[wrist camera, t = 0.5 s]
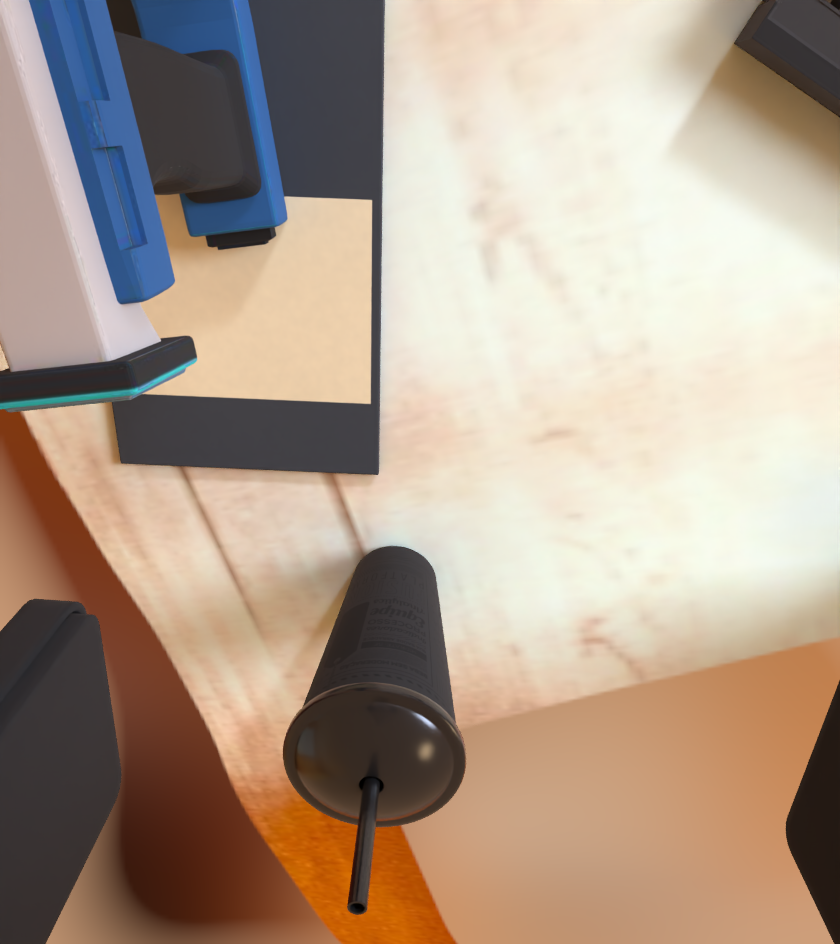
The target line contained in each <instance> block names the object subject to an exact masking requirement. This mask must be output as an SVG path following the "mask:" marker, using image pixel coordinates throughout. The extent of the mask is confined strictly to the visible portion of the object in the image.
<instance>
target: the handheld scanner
mask: <svg viewBox="0 0 840 944" xmlns="http://www.w3.org/2000/svg"><path fill="white" fill-rule="evenodd" d="M131 3H132V6H133V9H134V12H135V15H136V19H137V22H138V26H139V29H140V33H141V37H142V39H141V38H138V37H134V36H131V35H127V34H124V33H120V32H116V31H113V27H112V23H111V19H110V15H109V12H108V8H107V4H106V0H0V344H1V347H2V350H3V352H4V355H5V358H6V360H7V363H8V366H9V369H6V370H3V371H0V409H5V410H6V411H7V412H18V411H27V410H37V409H46V408H56V407H66V406H75V405H85V404H95V403H104V402H114V401H123V400H131V399H133V398H135V397H137V396H139V395H141V394H143V393H145V392H147V391H149V390H151V389H153V388H155V387H157V386H159V385H161V384H163V383H165V382H167V381H169V380H171V379H173V378H175V377H177V376H179V375H181V374H183V373H184V372H185V370H186V368H187V367H189V366H191V365H192V364H194V363H196V361H197V354H196V349H195V345H194V341H193V338H192V337H190V336H177V337H168V338H159V336H158V334H157V332H156V331H155V329H154V327H153V326H152V324H151V322H150V321H149V319H148V317H147V315H146V314H145V312H144V310H143V309H142V307H141V304H140V302H144V301H147V300H149V299H151V298H153V297H155V296H157V295H159V294H160V293H162V292H164V291H165V290H167V289H169V288H170V287H171V286H173V284H174V283H175V277H174V273H173V269H172V264H171V260H170V255H169V251H168V247H167V242H166V238H165V234H164V230H163V226H162V222H161V218H160V214H159V210H158V206H157V202H156V198H155V195H172V194H179V196H180V200H181V204H182V208H183V212H184V216H185V221H186V225H187V229H188V232H189V235H190V236H191V237H200V236H205V237H206V241H207V245H208V247H217V248H218V250H224V249H232V248H240V247H248V246H257V245H265V244H267V243H269V241H270V240H271V239H273V238H274V237H275V236H276V231H275V227H277V226H280V225H281V224H283V223H285V222H286V221H287V219H288V217H287V210H286V204H285V199H284V193H283V188H282V182H281V177H280V171H279V166H278V160H277V154H276V149H275V143H274V138H273V132H272V127H271V121H270V116H269V110H268V104H267V99H266V93H265V88H264V82H263V77H262V71H261V66H260V60H259V55H258V49H257V43H256V38H255V32H254V27H253V22H252V17H251V12H250V8H249V3H248V0H131Z"/></svg>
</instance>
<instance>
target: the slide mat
mask: <svg viewBox="0 0 840 944" xmlns="http://www.w3.org/2000/svg"><path fill="white" fill-rule="evenodd" d="M248 3H249V8H250V12H251V17H252V22H253V27H254V32H255V38H256V43H257V49H258V55H259V60H260V66H261V71H262V77H263V82H264V88H265V93H266V99H267V104H268V110H269V116H270V121H271V127H272V132H273V138H274V143H275V149H276V154H277V160H278V166H279V171H280V177H281V182H282V188H283V193H284V199H285V204H286V210H287V217H288V219H287V221H286V222H285V223H283V224H281V225H280V226H277V227H275V231H276V236H275V237H274V238H273V239H271V240H270V241H269V243H267V244H265V245H257V246H248V247H240V248H232V249H224V250H218V248H217V247H208V245H207V241H206V237H205V236H200V237H191V236H190V235H189V232H188V229H187V225H186V221H185V216H184V212H183V208H182V204H181V200H180V196H179V194H172V195H155V198H156V202H157V206H158V210H159V214H160V218H161V222H162V226H163V230H164V234H165V238H166V242H167V247H168V251H169V255H170V260H171V264H172V269H173V273H174V277H175V283H174V284H173V286H171V287H170V288H169V289H167V290H165V291H164V292H162V293H160V294H159V295H157V296H155V297H153V298H151V299H149V300H147V301H144V302H140V304H141V307H142V309H143V310H144V312H145V314H146V315H147V317H148V319H149V321H150V322H151V324H152V326H153V327H154V329H155V331H156V332H157V334H158V336H159V338H168V337H177V336H190V337H192V338H193V341H194V345H195V349H196V354H197V361H196V363H194V364H192V365H191V366H189V367H187V368H186V370H185V372H184V373H183V374H181V375H179V376H177V377H175V378H173V379H171V380H169V381H167V382H165V383H163V384H161V385H159V386H157V387H155V388H153V389H151V390H149V391H147V392H145V393H143V394H141V395H139V396H137V397H135V398H133V399H131V400H123V401H114V402H112V406H113V413H114V419H115V426H116V433H117V440H118V447H119V454H120V460H121V463H125V464H148V465H170V466H192V467H215V468H237V469H259V470H282V471H304V472H326V473H348V474H371V475H378V474H379V421H380V339H381V257H382V175H383V93H384V11H385V0H248ZM106 4H107V8H108V12H109V15H110V19H111V23H112V27H113V31H116V32H120V33H124V34H127V35H131V36H134V37H138V38H141V39H142V37H141V33H140V29H139V26H138V22H137V19H136V15H135V12H134V9H133V6H132V3H131V0H106Z"/></svg>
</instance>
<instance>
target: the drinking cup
mask: <svg viewBox="0 0 840 944" xmlns="http://www.w3.org/2000/svg"><path fill="white" fill-rule="evenodd" d="M283 761H284V766H285V770H286V773H287V775H288V778H289V780H290V782H291V783H292V785H293V787H294V788H295V789H296V791H297V792H298V793H299V794H300V795H301V797H303V798H304V799H305V800H306V801H307V802H308V803H309V804H310V805H312V806H313V807H314V808H316V809H317V810H319V811H321V812H322V813H324V814H326V815H328V816H330V817H332V818H335V819H338V820H340V821H343V822H347V823H350V824H355V825H358V828H357V835H356V843H355V851H354V859H353V867H352V875H351V882H350V890H349V898H348V906H347V908H348V910H349V912H351V913H353V914H356V915H360V914H363V913H365V912H366V911H367V906H368V896H369V887H370V877H371V867H372V857H373V847H374V837H375V828H376V827H391V826H399V825H404V824H408V823H412V822H415V821H418V820H420V819H423V818H425V817H427V816H429V815H431V814H433V813H434V812H436V811H437V810H439V809H440V808H442V807H443V806H444V805H445V804H446V803H447V802H448V801H449V800H450V799H451V798H452V797H453V796H454V794H455V793H456V791H457V789H458V788H459V786H460V784H461V782H462V779H463V777H464V773H465V768H466V752H465V744H464V741H463V737H462V735H461V733H460V731H459V729H458V727H457V725H456V721H455V714H454V707H453V699H452V692H451V685H450V678H449V670H448V663H447V656H446V648H445V641H444V634H443V626H442V619H441V612H440V604H439V597H438V590H437V582H436V576H435V573H434V570H433V568H432V566H431V565H430V563H429V562H428V561H427V560H426V559H425V558H424V557H423V556H422V555H420V554H419V553H417V552H415V551H413V550H411V549H408V548H404V547H398V546H390V547H383V548H379V549H377V550H374V551H372V552H371V553H369V554H368V555H366V556H365V557H364V558H363V559H362V560H361V561H360V562H359V564H358V566H357V568H356V570H355V572H354V575H353V578H352V580H351V583H350V585H349V588H348V591H347V593H346V596H345V598H344V601H343V604H342V606H341V609H340V611H339V614H338V617H337V619H336V622H335V625H334V627H333V630H332V632H331V635H330V638H329V640H328V643H327V645H326V648H325V651H324V653H323V656H322V658H321V661H320V664H319V666H318V669H317V671H316V674H315V677H314V679H313V682H312V684H311V687H310V690H309V692H308V695H307V697H306V700H305V703H304V705H303V707H302V709H301V710H300V711H299V712H298V713H297V714H296V716H295V717H294V718H293V720H292V722H291V723H290V725H289V728H288V730H287V733H286V736H285V740H284V746H283Z"/></svg>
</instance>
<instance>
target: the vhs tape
mask: <svg viewBox="0 0 840 944" xmlns="http://www.w3.org/2000/svg"><path fill="white" fill-rule="evenodd" d="M763 1H765V3H764V4H762V5H759V6H758V7H757V9H756V10H755V12H754V14H753V15H752V17H751V18H750V20H749V21H748V23H747V24H746V26H745V28H744V29H743V31H742V32H741V34H740V35H739V37H738V38H737V40H736V42H735V43H734V44H736V45H737V46H739V47H740V48H742V49H743V50H744V51H746V52H747V53H749V54H750V55H752V56H753V57H755V58H756V59H757V60H759V61H760V62H762V63H763V64H765V65H766V66H767V67H769V68H770V69H772V70H773V71H775V72H776V73H777V74H779V75H780V76H782V77H783V78H785V79H786V80H788V81H789V82H790V83H792V84H793V85H795V86H796V87H798V88H799V89H800V90H802V91H803V92H805V93H806V94H808V95H809V96H810V97H812V98H813V99H815V100H816V101H818V102H819V103H821V104H822V105H823V106H825V107H826V108H828V109H829V110H831V111H832V112H833V113H835V114H836V115H838V116H839V117H840V0H763Z"/></svg>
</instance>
